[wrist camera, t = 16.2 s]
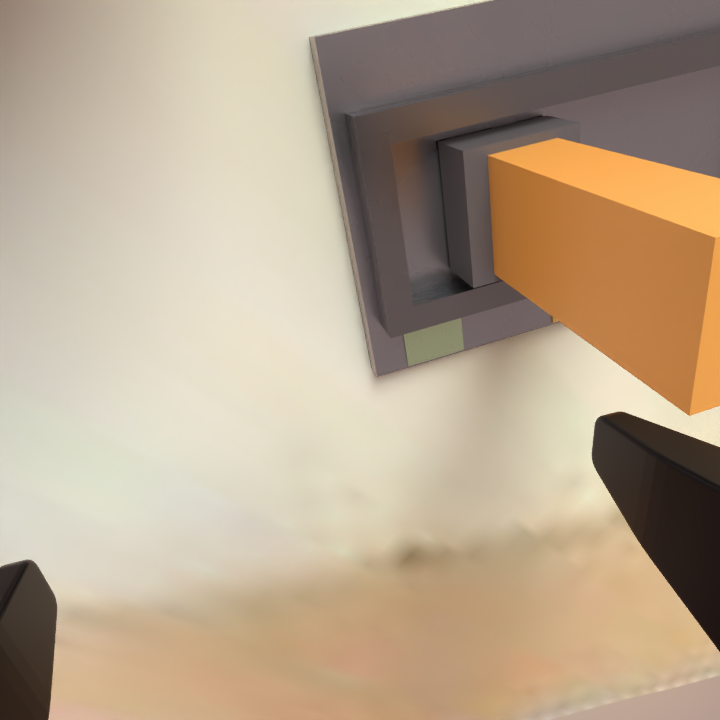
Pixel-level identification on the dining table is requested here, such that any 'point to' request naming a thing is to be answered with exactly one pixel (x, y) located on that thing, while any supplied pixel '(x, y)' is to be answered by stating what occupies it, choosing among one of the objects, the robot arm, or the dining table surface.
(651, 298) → the breaker toggle
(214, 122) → the dining table surface
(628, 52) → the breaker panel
